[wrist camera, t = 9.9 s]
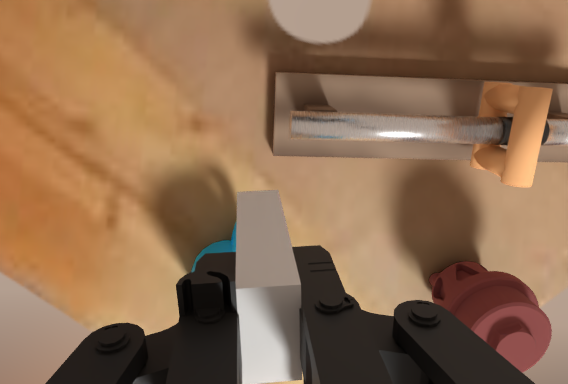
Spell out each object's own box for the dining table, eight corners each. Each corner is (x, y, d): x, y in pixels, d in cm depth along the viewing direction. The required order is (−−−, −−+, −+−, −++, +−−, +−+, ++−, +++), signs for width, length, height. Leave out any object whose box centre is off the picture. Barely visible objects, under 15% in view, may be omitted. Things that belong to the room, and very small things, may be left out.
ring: (479, 81, 42) (530, 88, 34) (503, 82, 42) (559, 89, 35) (465, 163, 44) (510, 187, 37) (488, 163, 45) (537, 187, 37)
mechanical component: (479, 324, 54) (402, 312, 53) (509, 250, 51) (429, 235, 50) (543, 399, 43) (447, 386, 41) (586, 310, 40) (485, 293, 38)
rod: (288, 136, 39) (291, 142, 37) (289, 108, 39) (292, 112, 36) (603, 145, 42) (624, 150, 40) (610, 118, 41) (632, 122, 39)
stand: (275, 71, 43) (279, 75, 38) (583, 83, 46) (629, 88, 41) (272, 152, 46) (276, 166, 40) (565, 159, 48) (606, 173, 43)
